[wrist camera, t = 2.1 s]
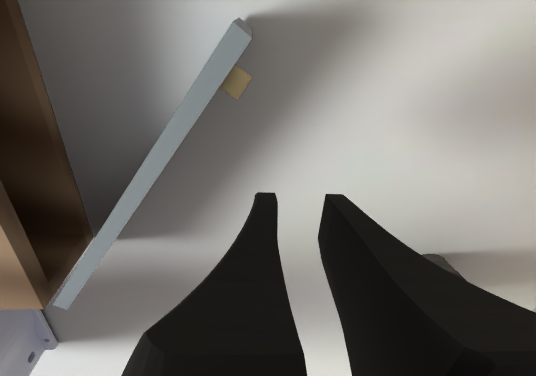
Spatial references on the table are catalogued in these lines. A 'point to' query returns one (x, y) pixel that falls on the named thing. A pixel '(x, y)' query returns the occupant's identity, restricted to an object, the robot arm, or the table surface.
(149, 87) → the table surface
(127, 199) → the cabinet door
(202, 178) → the table surface
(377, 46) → the table surface
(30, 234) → the walnut cabinet
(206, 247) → the table surface
